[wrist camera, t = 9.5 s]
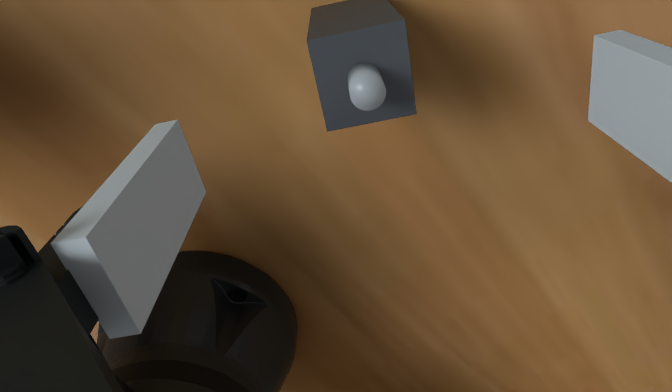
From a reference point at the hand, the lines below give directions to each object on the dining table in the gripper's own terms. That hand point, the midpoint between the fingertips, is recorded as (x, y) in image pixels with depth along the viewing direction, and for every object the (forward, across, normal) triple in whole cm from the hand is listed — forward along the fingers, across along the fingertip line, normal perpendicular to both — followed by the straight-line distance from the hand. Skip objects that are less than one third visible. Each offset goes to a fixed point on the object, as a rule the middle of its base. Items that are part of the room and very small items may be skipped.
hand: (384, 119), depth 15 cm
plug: (+14, 0, 0) cm, 14 cm away
